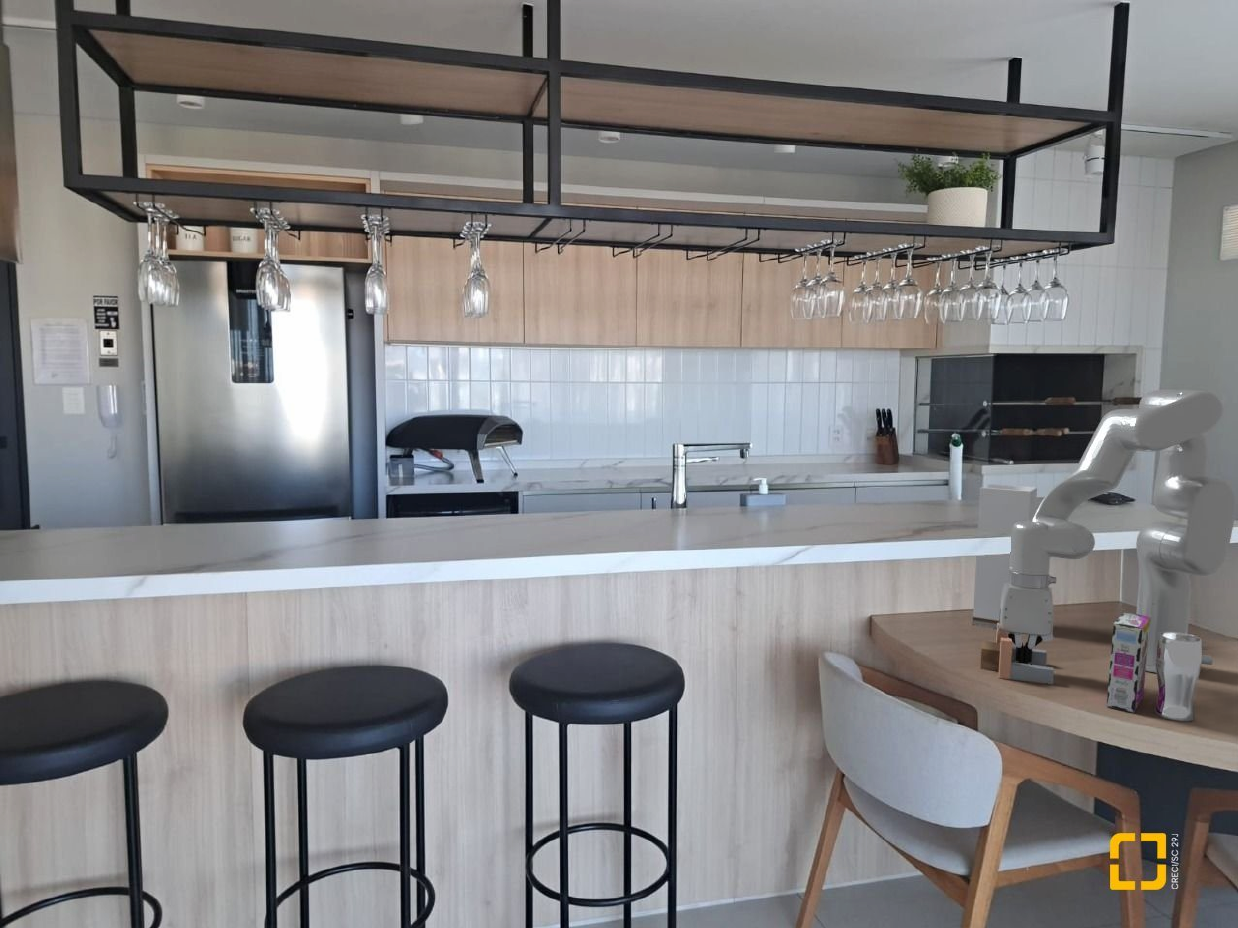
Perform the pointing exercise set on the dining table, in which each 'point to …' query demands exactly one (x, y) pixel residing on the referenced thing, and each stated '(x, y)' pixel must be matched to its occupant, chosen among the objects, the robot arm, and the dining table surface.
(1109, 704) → the milk carton
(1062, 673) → the dining table surface
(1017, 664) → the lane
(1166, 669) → the beer glass
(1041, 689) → the dining table surface
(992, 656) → the walnut block
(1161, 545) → the robot arm
